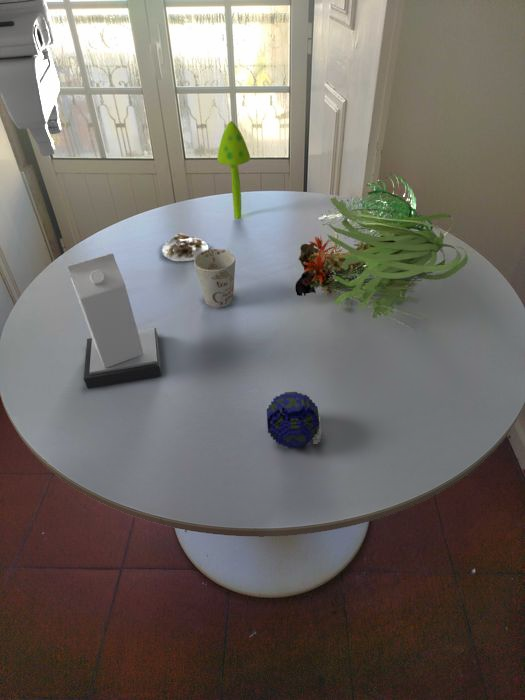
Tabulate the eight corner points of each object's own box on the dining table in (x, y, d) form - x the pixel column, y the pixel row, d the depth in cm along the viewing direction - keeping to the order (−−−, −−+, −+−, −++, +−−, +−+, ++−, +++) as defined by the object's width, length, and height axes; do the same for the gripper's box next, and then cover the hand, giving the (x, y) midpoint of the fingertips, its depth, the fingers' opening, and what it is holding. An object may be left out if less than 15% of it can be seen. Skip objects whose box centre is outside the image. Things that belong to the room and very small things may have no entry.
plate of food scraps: (202, 263, 112) (200, 249, 110) (154, 260, 114) (151, 246, 111) (214, 240, 121) (212, 226, 118) (169, 237, 122) (167, 224, 120)
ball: (315, 414, 77) (317, 382, 71) (322, 453, 71) (325, 421, 66) (266, 417, 76) (265, 385, 71) (269, 456, 71) (268, 424, 66)
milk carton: (94, 345, 86) (62, 255, 74) (132, 333, 89) (106, 243, 76) (105, 369, 82) (72, 276, 69) (144, 354, 84) (119, 263, 71)
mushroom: (221, 224, 127) (211, 126, 110) (224, 210, 133) (215, 115, 116) (252, 224, 126) (247, 125, 110) (253, 210, 133) (249, 115, 116)
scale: (86, 388, 83) (81, 376, 80) (89, 348, 91) (85, 336, 88) (161, 375, 84) (158, 363, 82) (158, 337, 92) (155, 325, 90)
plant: (337, 214, 114) (489, 174, 90) (339, 339, 113) (493, 332, 89) (249, 180, 92) (420, 114, 68) (250, 335, 91) (424, 324, 67)
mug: (203, 314, 97) (197, 273, 91) (193, 282, 106) (187, 242, 100) (242, 307, 99) (239, 266, 92) (229, 275, 108) (225, 236, 101)
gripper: (4, 19, 66) (39, 123, 75) (-30, 44, 51) (18, 170, 60) (51, 16, 67) (79, 119, 76) (31, 40, 52) (69, 165, 61)
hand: (52, 142), depth 68 cm, fingers open, 8 cm apart
